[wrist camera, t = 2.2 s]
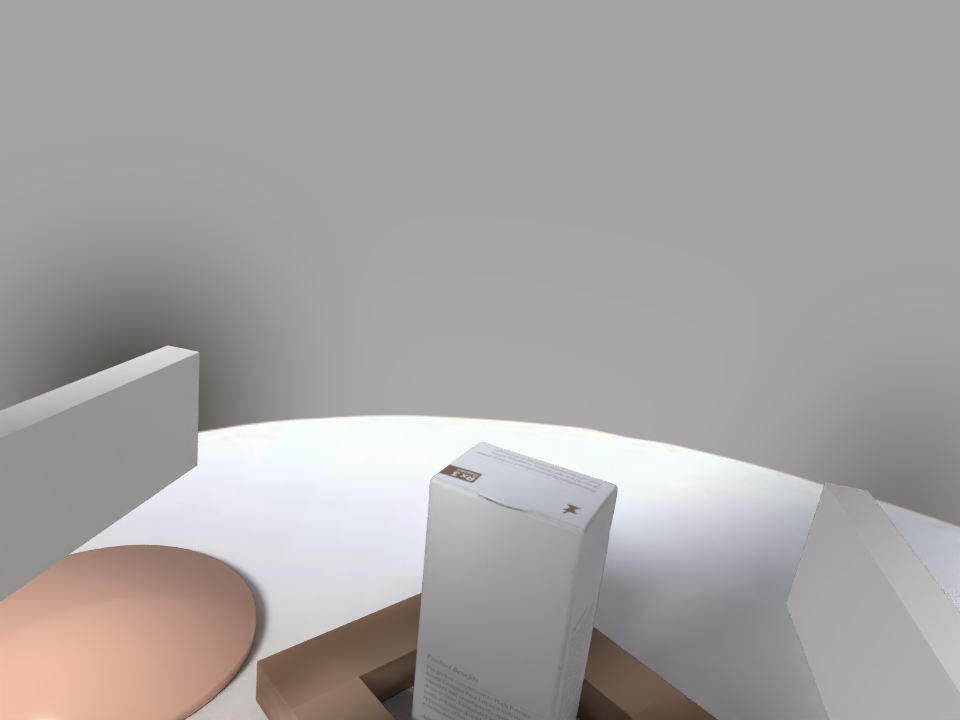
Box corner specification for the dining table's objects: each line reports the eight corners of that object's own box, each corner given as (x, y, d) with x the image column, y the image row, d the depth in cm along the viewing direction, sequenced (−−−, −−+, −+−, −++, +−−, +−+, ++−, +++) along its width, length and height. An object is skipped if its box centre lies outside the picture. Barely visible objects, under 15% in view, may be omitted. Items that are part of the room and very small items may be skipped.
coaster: (304, 668, 31) (305, 657, 31) (-61, 831, 22) (-63, 817, 22) (198, 530, 40) (198, 521, 40) (-92, 608, 31) (-93, 597, 31)
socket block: (725, 771, 28) (736, 734, 28) (470, 1025, 19) (479, 977, 18) (497, 589, 38) (502, 559, 37) (255, 699, 29) (257, 661, 28)
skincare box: (576, 732, 29) (629, 480, 26) (536, 815, 25) (593, 532, 22) (451, 671, 32) (484, 433, 28) (398, 738, 28) (428, 472, 24)
